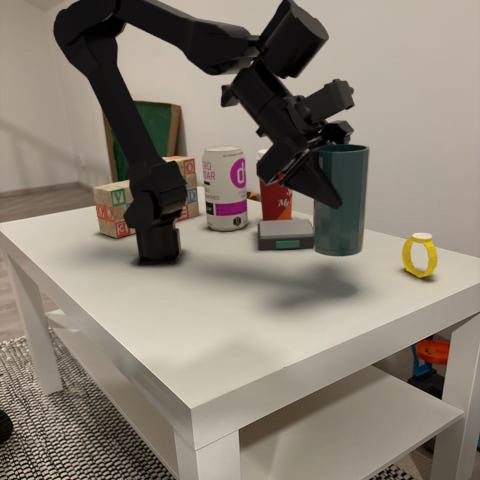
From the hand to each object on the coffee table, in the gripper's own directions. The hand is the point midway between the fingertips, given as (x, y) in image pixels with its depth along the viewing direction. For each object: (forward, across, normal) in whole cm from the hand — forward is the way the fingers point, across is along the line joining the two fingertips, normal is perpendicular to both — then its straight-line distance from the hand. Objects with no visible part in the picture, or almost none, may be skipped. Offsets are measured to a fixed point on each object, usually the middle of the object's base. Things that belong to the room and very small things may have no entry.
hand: (350, 200), depth 65 cm
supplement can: (-14, +21, +32) cm, 41 cm away
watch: (+14, +10, +4) cm, 18 cm away
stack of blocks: (-25, +16, +44) cm, 53 cm away
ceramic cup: (+4, 0, +6) cm, 7 cm away
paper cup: (-8, +27, +27) cm, 39 cm away
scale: (-4, +17, +22) cm, 28 cm away
